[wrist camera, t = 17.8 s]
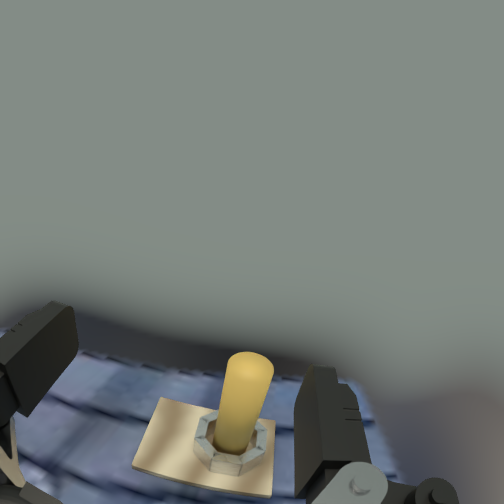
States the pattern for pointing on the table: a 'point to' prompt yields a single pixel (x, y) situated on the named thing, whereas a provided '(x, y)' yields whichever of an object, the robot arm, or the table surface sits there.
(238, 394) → the ochre steel pin
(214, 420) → the steel ring collar
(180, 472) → the birch board
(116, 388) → the table surface
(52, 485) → the table surface
